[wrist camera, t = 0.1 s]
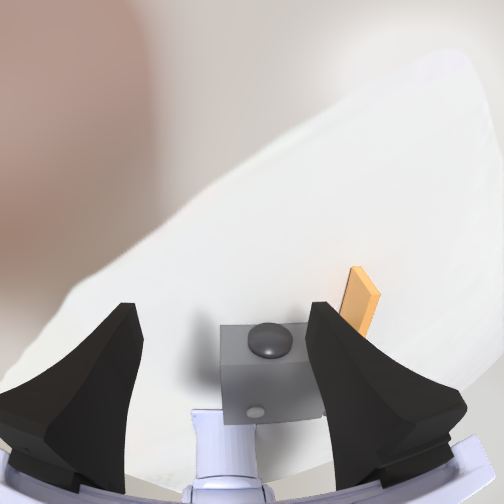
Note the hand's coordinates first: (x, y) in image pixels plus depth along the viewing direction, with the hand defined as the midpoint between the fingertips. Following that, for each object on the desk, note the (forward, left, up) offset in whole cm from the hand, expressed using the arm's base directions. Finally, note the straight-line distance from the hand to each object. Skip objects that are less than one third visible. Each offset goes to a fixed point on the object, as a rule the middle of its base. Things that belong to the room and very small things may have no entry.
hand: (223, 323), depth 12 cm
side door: (-11, -10, -10) cm, 18 cm away
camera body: (-14, -5, -10) cm, 18 cm away
